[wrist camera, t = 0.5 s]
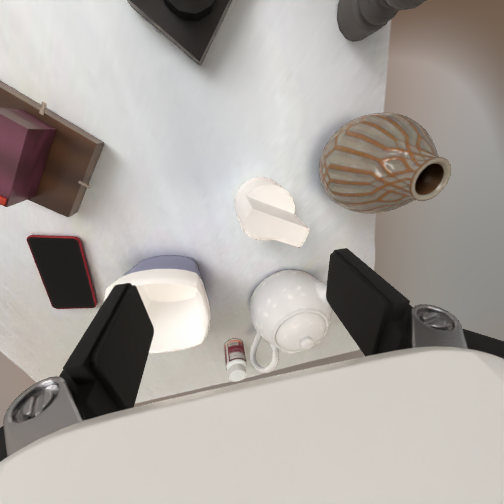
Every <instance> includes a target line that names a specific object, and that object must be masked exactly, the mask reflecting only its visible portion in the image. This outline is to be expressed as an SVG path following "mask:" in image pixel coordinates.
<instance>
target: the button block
mask: <svg viewBox="0 0 504 504" xmlns="http://www.w3.org/2000/svg"><path fill="white" fill-rule="evenodd" d="M127 1H128V3H129V4H130V6H132V7H133V8H134V9H135V10H136V11H137V12H139V13H140V14H141V15H142V16H143V17H144V18H145V19H147V20H148V21H149V22H150V23H151V24H152V25H154V26H155V27H156V28H157V29H158V30H159V31H160V32H162V33H163V34H164V35H165V36H166V37H167V38H169V39H170V40H171V41H172V42H173V43H174V44H175V45H177V46H178V47H179V48H180V49H181V50H182V51H184V52H185V53H186V54H187V55H188V56H189V57H190V58H192V59H193V60H194V61H195V62H196V63H197V64H199V65H200V66H201V64H202V62H203V60H204V58H205V56H206V53H207V51H208V49H209V47H210V45H211V43H212V41H213V39H214V37H215V35H216V33H217V31H218V29H219V27H220V25H221V23H222V21H223V18H224V16H225V14H226V12H227V10H228V8H229V6H230V4H231V2H232V0H127Z"/></svg>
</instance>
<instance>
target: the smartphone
mask: <svg viewBox="0 0 504 504" xmlns="http://www.w3.org/2000/svg"><path fill="white" fill-rule="evenodd" d="M27 242H28V245H29V247H30V250H31V253H32V255H33V258H34V260H35V263H36V266H37V268H38V271H39V273H40V276H41V279H42V281H43V284H44V286H45V289H46V292H47V294H48V297H49V299H50V302H51V305H52V307H54V308H56V309H72V308H94V307H96V305H97V302H96V298H95V294H94V290H93V286H92V282H91V278H90V275H89V271H88V267H87V263H86V259H85V255H84V252H83V248H82V244H81V240H80V239H79V238H77V237H69V236H41V235H31V236H29V237H27Z"/></svg>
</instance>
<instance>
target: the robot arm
mask: <svg viewBox="0 0 504 504" xmlns="http://www.w3.org/2000/svg"><path fill="white" fill-rule="evenodd" d="M326 299H327V302H328V303H329V305H330V306H331V308H332V309H333V311H334V312H335V313H336V315H337V316H338V318H339V319H340V321H341V322H342V323H343V325H344V326H345V328H346V329H347V331H348V332H349V333H350V335H351V336H352V338H353V339H354V341H355V342H356V343H357V345H358V346H359V348H360V349H361V351H362V352H363V353H364V355H365V357H360V358H355V359H350V360H346V361H341V362H337V363H332V364H327V365H322V366H317V367H313V368H308V369H303V370H299V371H294V372H290V373H285V374H281V375H276V376H271V377H267V378H262V379H257V380H253V381H248V382H244V383H239V384H235V385H230V386H225V387H221V388H216V389H212V390H208V391H203V392H199V393H194V394H190V395H185V396H181V397H177V398H172V399H167V400H163V401H158V402H154V403H150V404H146V405H142V406H138V407H134V404H135V400H136V397H137V393H138V389H139V386H140V382H141V379H142V375H143V371H144V368H145V364H146V361H147V357H148V353H149V350H150V346H151V343H152V339H153V335H154V327H153V325H152V322H151V320H150V318H149V315H148V313H147V311H146V308H145V306H144V304H143V301H142V299H141V296H140V294H139V292H138V289H137V287H136V286H135V285H132V284H131V283H125V284H118V285H115V286H114V287H113V289H112V290H111V292H110V294H109V295H108V297H107V298H106V300H105V302H104V303H103V305H102V306H101V308H100V310H99V311H98V313H97V314H96V316H95V318H94V319H93V321H92V322H91V324H90V326H89V327H88V329H87V330H86V332H85V334H84V335H83V337H82V338H81V340H80V342H79V343H78V345H77V346H76V348H75V350H74V351H73V353H72V354H71V356H70V358H69V359H68V361H67V362H66V364H65V366H64V367H63V371H62V373H61V374H60V376H59V377H49V378H47V379H44V380H41V381H39V382H37V383H36V384H34V385H32V386H31V387H29V388H28V389H27V390H25V391H24V392H23V393H21V394H20V395H19V396H18V397H17V398H16V399H15V400H14V401H13V403H12V404H11V405H10V406H9V408H8V409H7V412H6V413H5V416H4V421H3V424H4V426H2V427H1V428H0V504H504V341H501V340H497V339H494V338H491V337H488V336H484V335H481V334H478V333H475V332H471V331H468V330H465V329H462V326H461V324H460V322H459V320H458V319H457V318H456V317H455V316H454V315H452V314H451V313H449V312H448V311H446V310H443V309H441V308H439V307H436V306H432V305H417V306H415V307H411V306H410V305H409V302H410V301H409V300H408V299H407V298H406V297H404V296H403V295H402V294H401V293H400V292H398V291H397V290H396V289H395V288H394V287H392V286H391V285H390V284H389V283H388V282H386V281H385V280H384V279H383V278H382V277H381V276H379V275H378V274H377V273H376V272H375V271H373V270H372V269H371V268H370V267H369V266H367V265H366V264H365V263H364V262H363V261H361V260H360V259H359V258H358V257H357V256H355V255H354V254H353V253H352V252H351V251H350V250H348V249H347V248H345V249H338V250H334V252H333V253H332V254H331V255H330V262H329V271H328V280H327V289H326Z"/></svg>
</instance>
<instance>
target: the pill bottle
mask: <svg viewBox="0 0 504 504" xmlns="http://www.w3.org/2000/svg"><path fill="white" fill-rule="evenodd" d="M224 348H225V362H226V370H227V371H228V378H229V380H231V381H234V382H236V381H241V380H243V379H244V378H245V377H246V369H245V368H246V359H245V353H244V347H243V342H242V341H241V340H239V339H230V340H228V341H227V342H226V343H225V346H224Z"/></svg>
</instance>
